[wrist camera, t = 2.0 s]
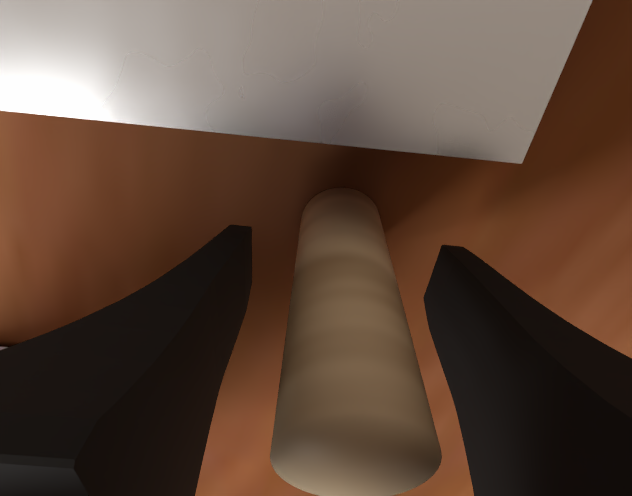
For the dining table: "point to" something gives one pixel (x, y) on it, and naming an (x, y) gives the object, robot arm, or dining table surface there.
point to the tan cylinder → (349, 363)
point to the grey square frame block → (297, 68)
